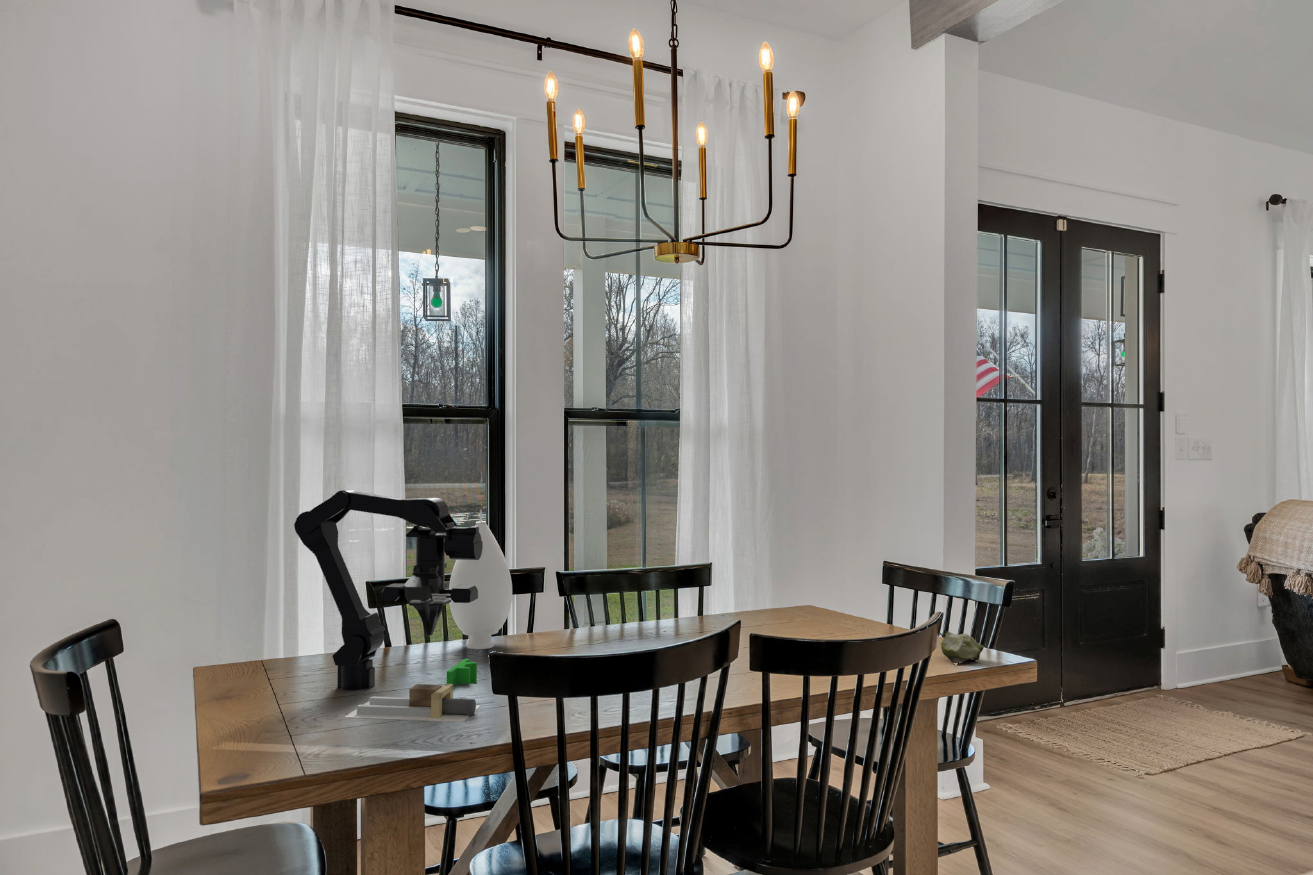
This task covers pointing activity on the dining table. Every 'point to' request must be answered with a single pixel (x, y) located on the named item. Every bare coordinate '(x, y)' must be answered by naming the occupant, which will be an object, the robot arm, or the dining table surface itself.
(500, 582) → the lamp
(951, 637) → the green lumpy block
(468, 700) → the rod
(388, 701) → the channel board
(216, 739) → the dining table surface
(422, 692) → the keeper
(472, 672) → the pipe clamp
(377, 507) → the robot arm
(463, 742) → the dining table surface
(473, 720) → the dining table surface
